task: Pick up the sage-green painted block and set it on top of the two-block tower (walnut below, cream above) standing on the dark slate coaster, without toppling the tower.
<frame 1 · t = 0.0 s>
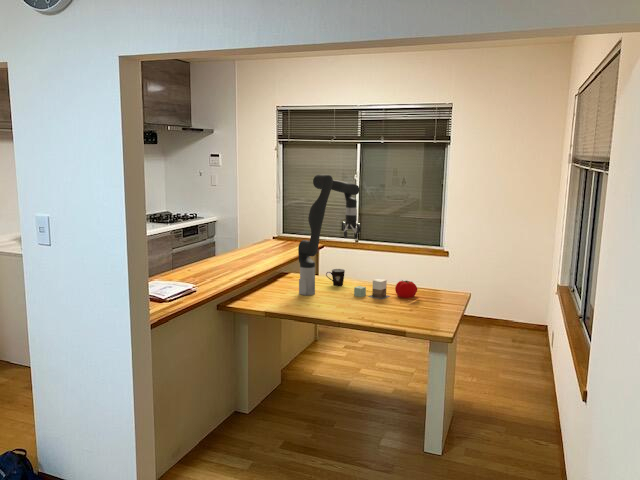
hand: (350, 238, 359), 29 cm above the table, tool pointing down, fingers open, 8 cm apart
walnut block: (379, 296, 321), point 1 cm above the table, touching cream block, slate coaster
tomato: (405, 297, 322), on the table
slate coaster: (379, 297, 321), on the table
sage block: (359, 296, 323), on the table
cream block: (379, 288, 320), point 6 cm above the table, touching walnut block
coffee mug: (336, 285, 352), on the table
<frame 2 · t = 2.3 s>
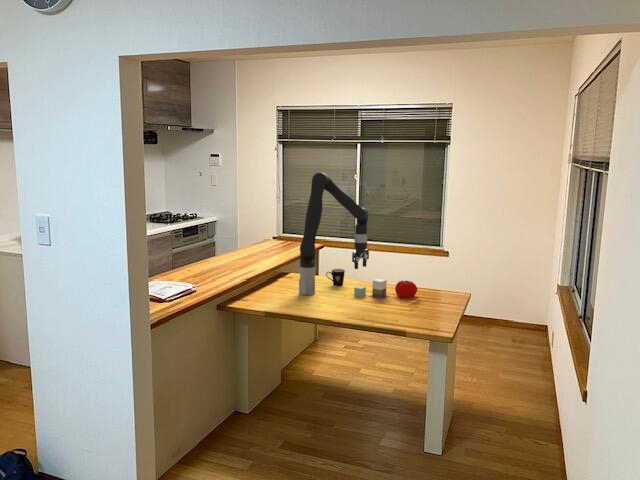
hand: (360, 267, 320), 18 cm above the table, tool pointing down, fingers open, 8 cm apart
nothing on the table moved.
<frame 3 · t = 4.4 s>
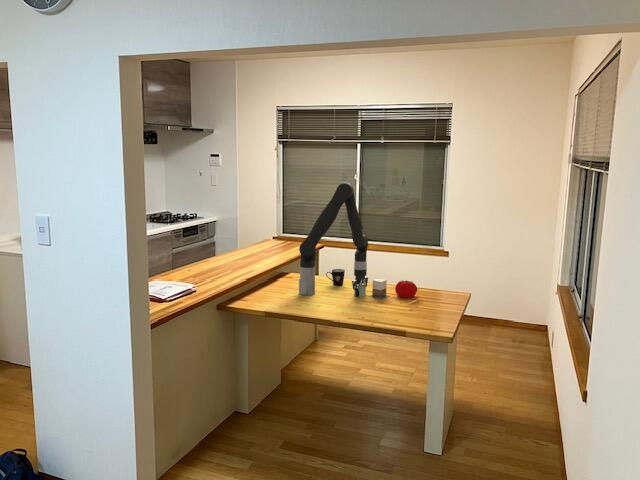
hand: (359, 295, 323), 1 cm above the table, tool pointing down, fingers closed on sage block, 5 cm apart
sage block: (359, 296, 323), on the table, touching gripper
everything else where it was.
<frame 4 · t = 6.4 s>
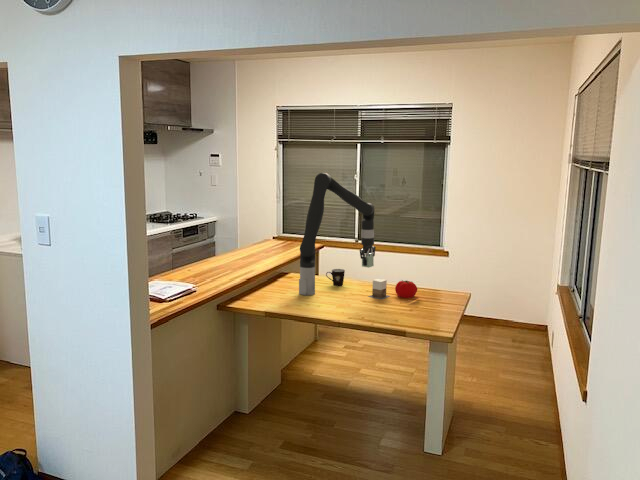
hand: (367, 264, 319), 20 cm above the table, tool pointing down, fingers closed on sage block, 5 cm apart
sage block: (367, 266, 319), point 19 cm above the table, touching gripper
everything else where it was.
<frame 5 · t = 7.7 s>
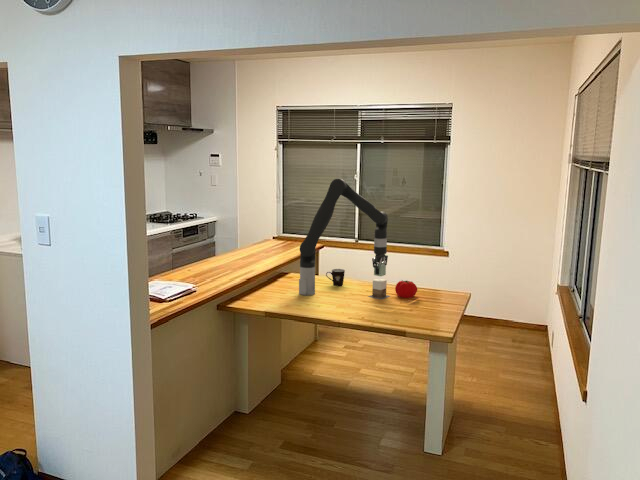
hand: (379, 273, 319), 15 cm above the table, tool pointing down, fingers closed on sage block, 5 cm apart
sage block: (379, 275, 319), point 14 cm above the table, touching gripper
everything else where it was.
when the fingers open (13 cm above the table, at t = 8.5 s): sage block drops 1 cm, resting on cream block.
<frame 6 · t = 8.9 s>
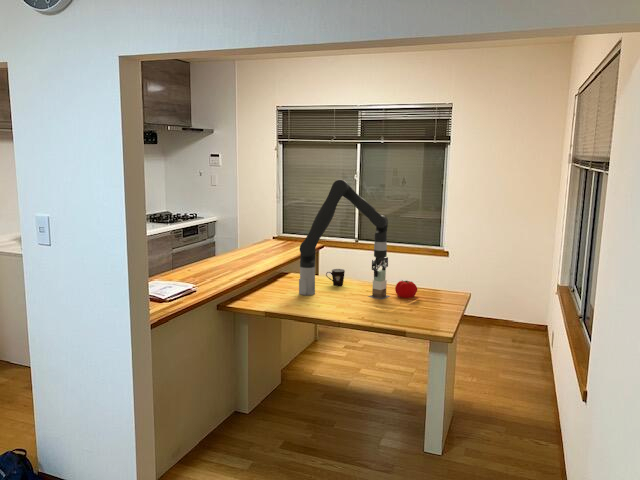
hand: (379, 275, 319), 14 cm above the table, tool pointing down, fingers open, 8 cm apart
sage block: (379, 280, 320), point 11 cm above the table, touching cream block
cream block: (379, 288, 320), point 6 cm above the table, touching sage block, walnut block
everything else where it was.
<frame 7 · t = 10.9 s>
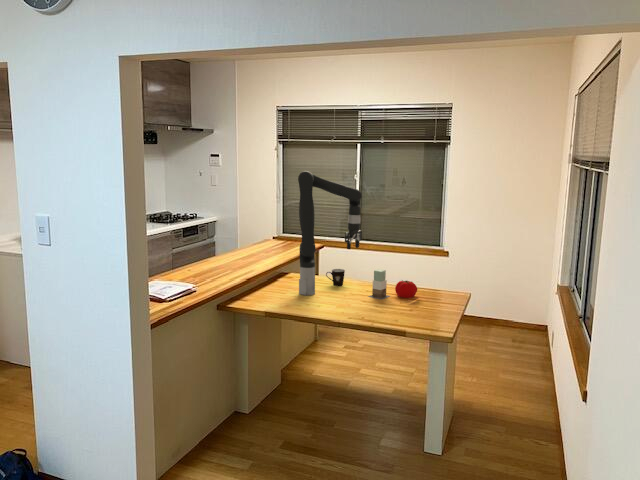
hand: (353, 248, 326), 28 cm above the table, tool pointing down, fingers open, 8 cm apart
nothing on the table moved.
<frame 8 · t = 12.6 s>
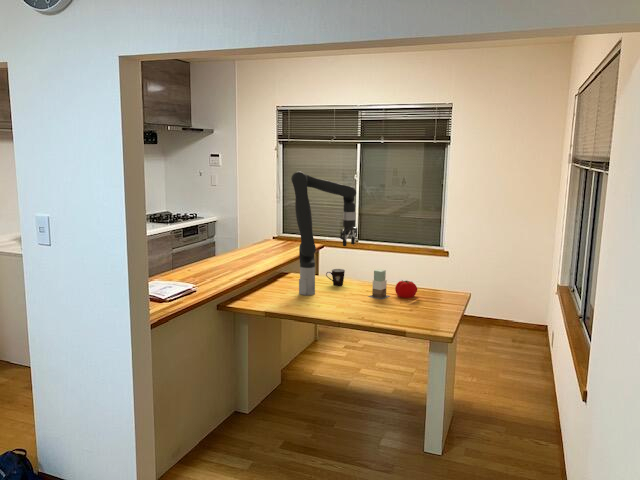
hand: (348, 245, 327), 30 cm above the table, tool pointing down, fingers open, 8 cm apart
nothing on the table moved.
at the end: sage block 0.0 cm off-centre on the cream block, point 5.0 cm above the cream block's base; cream block tilted 0°; the gripper is holding nothing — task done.
